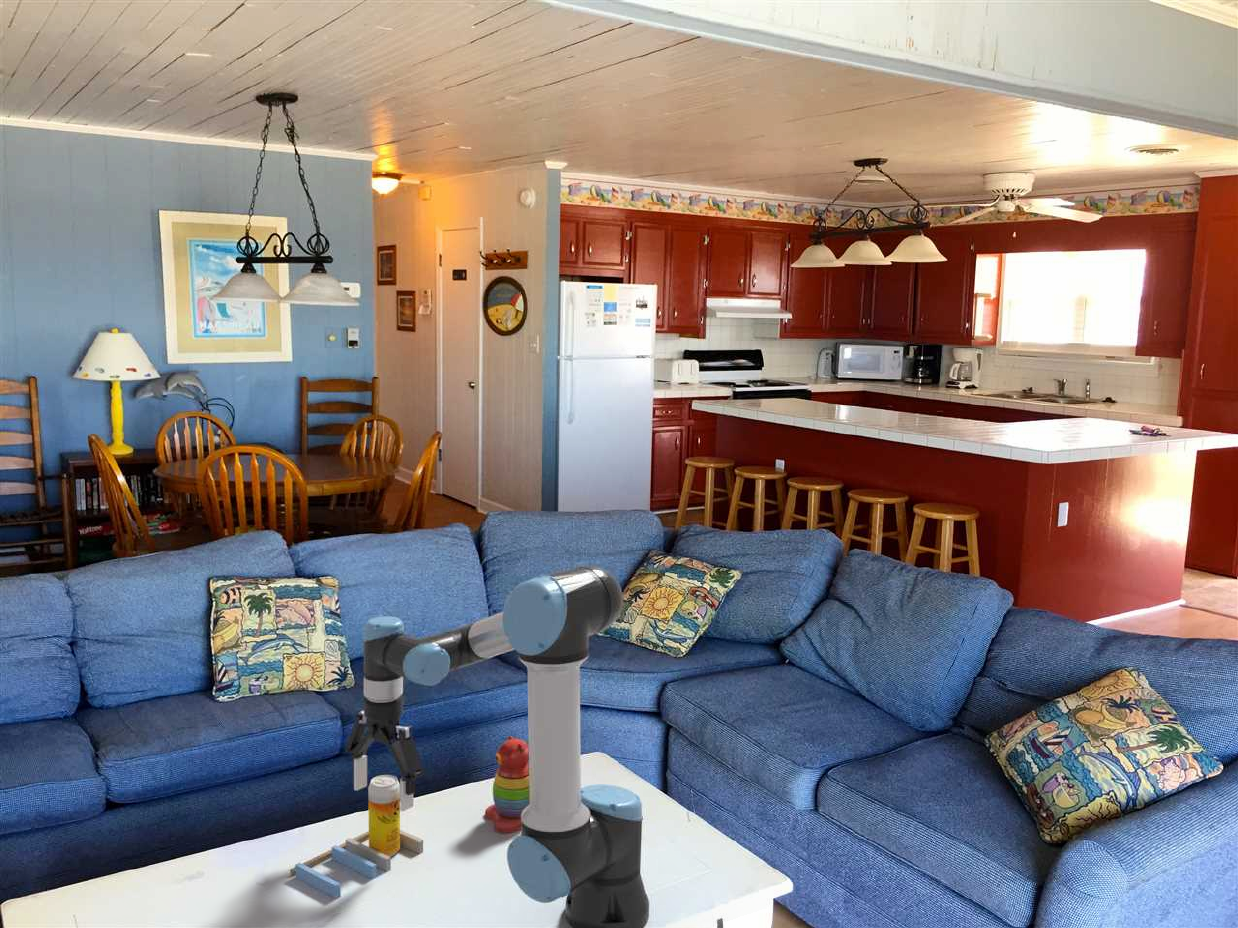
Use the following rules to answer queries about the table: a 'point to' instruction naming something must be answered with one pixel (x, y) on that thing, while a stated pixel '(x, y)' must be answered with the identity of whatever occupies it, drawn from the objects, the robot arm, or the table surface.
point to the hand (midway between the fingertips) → (383, 798)
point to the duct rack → (351, 861)
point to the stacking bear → (510, 786)
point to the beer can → (384, 814)
